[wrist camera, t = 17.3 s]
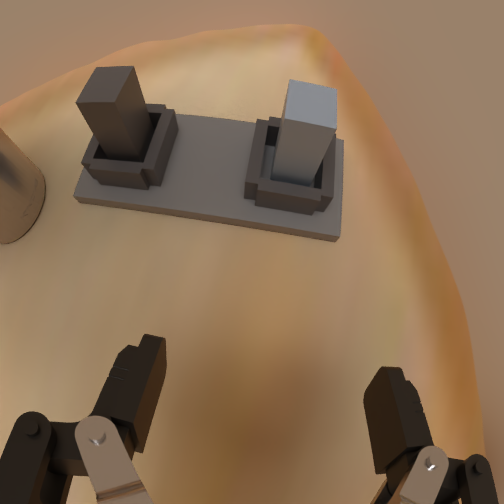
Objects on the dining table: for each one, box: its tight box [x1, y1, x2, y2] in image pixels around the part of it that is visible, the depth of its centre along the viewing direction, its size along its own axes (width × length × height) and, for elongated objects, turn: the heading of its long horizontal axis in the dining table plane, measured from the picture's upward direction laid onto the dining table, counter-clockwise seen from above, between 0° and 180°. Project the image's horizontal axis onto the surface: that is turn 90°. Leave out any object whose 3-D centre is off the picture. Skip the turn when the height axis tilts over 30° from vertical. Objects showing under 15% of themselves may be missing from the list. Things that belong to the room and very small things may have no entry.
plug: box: [270, 79, 337, 187], centre depth 23 cm, size 3×4×10 cm
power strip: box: [73, 66, 344, 242], centre depth 24 cm, size 24×10×11 cm, turn 81°
